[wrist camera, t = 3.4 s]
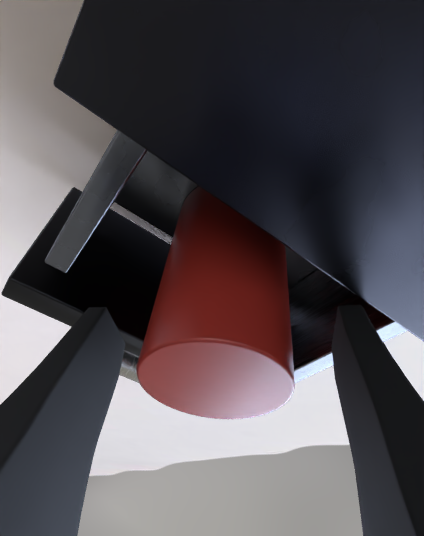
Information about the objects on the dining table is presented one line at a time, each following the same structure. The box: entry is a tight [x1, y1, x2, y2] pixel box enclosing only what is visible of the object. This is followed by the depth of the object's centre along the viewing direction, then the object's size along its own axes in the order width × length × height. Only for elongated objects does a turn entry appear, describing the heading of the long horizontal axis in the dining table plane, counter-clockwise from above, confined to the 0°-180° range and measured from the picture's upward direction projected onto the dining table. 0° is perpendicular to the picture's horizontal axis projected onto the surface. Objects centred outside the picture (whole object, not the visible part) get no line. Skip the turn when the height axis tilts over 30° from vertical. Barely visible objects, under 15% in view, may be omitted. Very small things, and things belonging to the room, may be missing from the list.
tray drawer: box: [2, 130, 408, 383], centre depth 15 cm, size 17×12×6 cm
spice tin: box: [136, 187, 295, 419], centre depth 13 cm, size 4×4×8 cm
